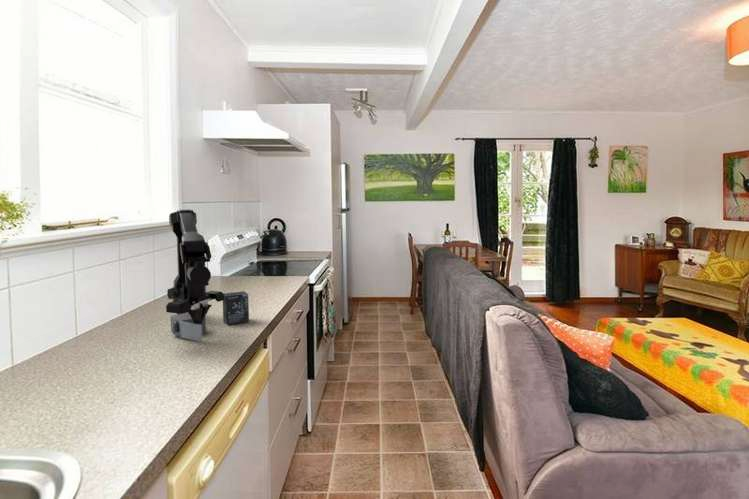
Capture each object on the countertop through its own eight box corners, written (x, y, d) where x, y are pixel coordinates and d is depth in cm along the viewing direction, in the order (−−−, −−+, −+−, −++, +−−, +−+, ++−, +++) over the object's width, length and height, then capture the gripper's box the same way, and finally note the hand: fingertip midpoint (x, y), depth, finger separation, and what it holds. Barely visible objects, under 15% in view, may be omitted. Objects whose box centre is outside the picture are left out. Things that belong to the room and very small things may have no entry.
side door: (182, 336, 137) (181, 321, 136) (202, 340, 133) (201, 324, 132) (179, 337, 136) (178, 321, 135) (200, 341, 132) (199, 324, 132)
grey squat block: (167, 332, 142) (166, 315, 141) (195, 326, 149) (194, 310, 148) (176, 338, 136) (175, 320, 135) (206, 332, 142) (205, 315, 141)
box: (227, 325, 150) (226, 296, 149) (223, 322, 155) (221, 293, 154) (249, 322, 154) (248, 293, 153) (244, 318, 159) (243, 290, 158)
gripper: (197, 272, 144) (200, 317, 146) (150, 283, 127) (153, 334, 129) (224, 274, 140) (226, 321, 142) (179, 286, 123) (182, 338, 125)
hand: (198, 328), depth 135 cm, fingers closed
